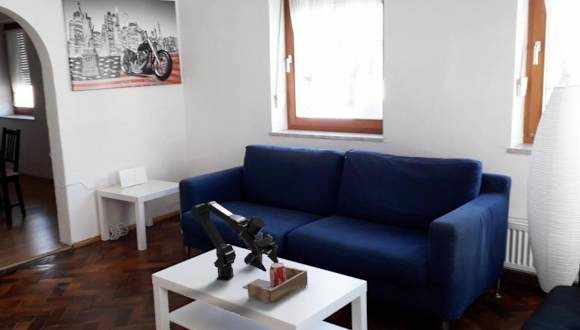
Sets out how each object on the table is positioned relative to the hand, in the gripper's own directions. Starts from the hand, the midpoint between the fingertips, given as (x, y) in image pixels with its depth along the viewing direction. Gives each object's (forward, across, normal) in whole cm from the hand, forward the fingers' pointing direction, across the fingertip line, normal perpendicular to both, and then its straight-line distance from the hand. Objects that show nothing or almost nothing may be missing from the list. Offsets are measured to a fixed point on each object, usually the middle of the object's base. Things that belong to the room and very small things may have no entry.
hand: (272, 267), depth 243 cm
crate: (+9, 0, +5) cm, 10 cm away
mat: (+1, 0, +13) cm, 13 cm away
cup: (-14, +24, +28) cm, 40 cm away
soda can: (+9, 0, +5) cm, 11 cm away
